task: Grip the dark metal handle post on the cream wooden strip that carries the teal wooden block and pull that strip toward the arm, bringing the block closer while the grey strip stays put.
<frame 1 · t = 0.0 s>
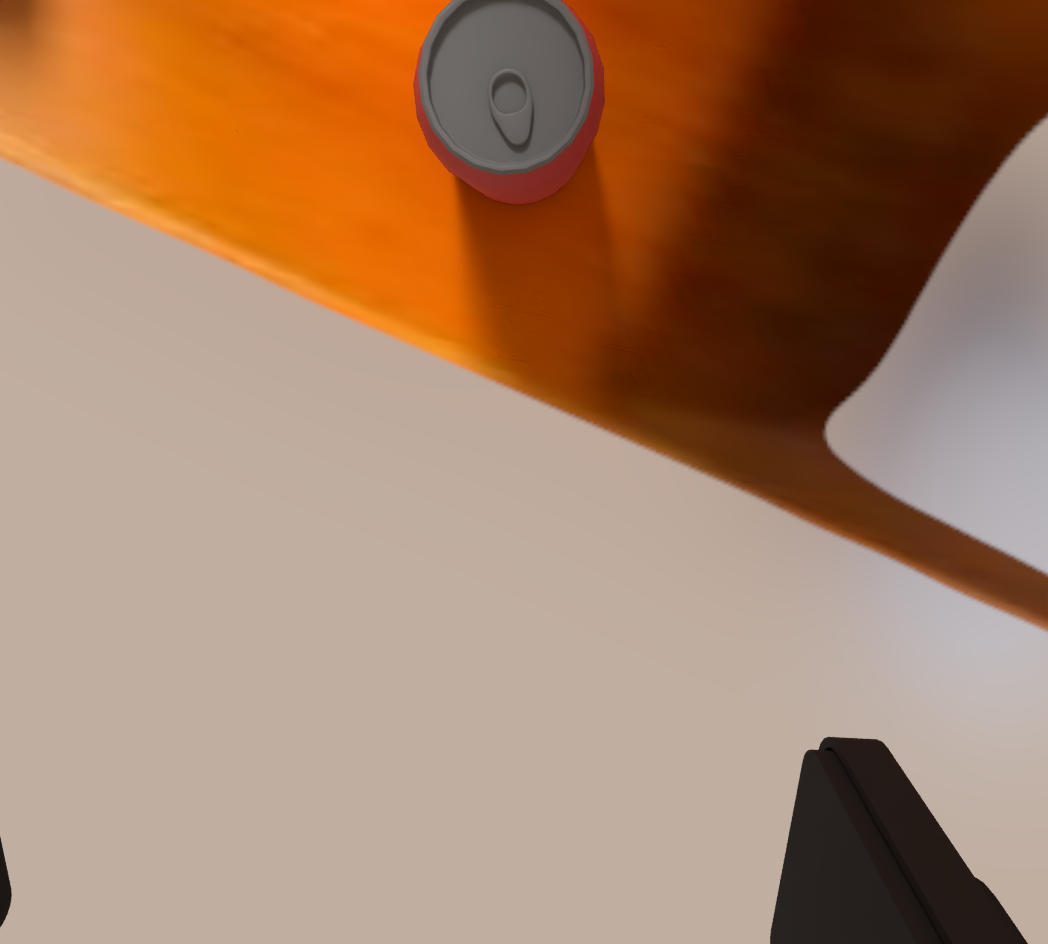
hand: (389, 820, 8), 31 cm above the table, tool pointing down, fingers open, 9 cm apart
beer can: (518, 131, 35), on the table
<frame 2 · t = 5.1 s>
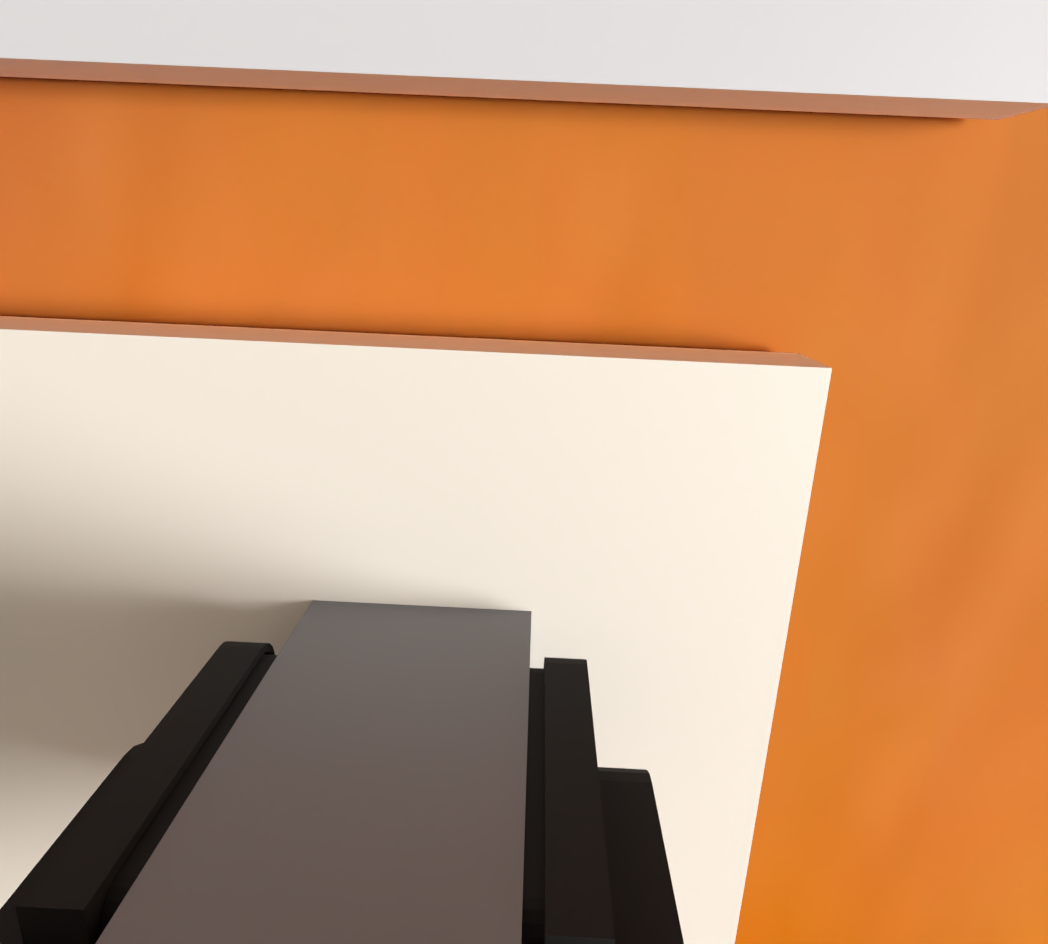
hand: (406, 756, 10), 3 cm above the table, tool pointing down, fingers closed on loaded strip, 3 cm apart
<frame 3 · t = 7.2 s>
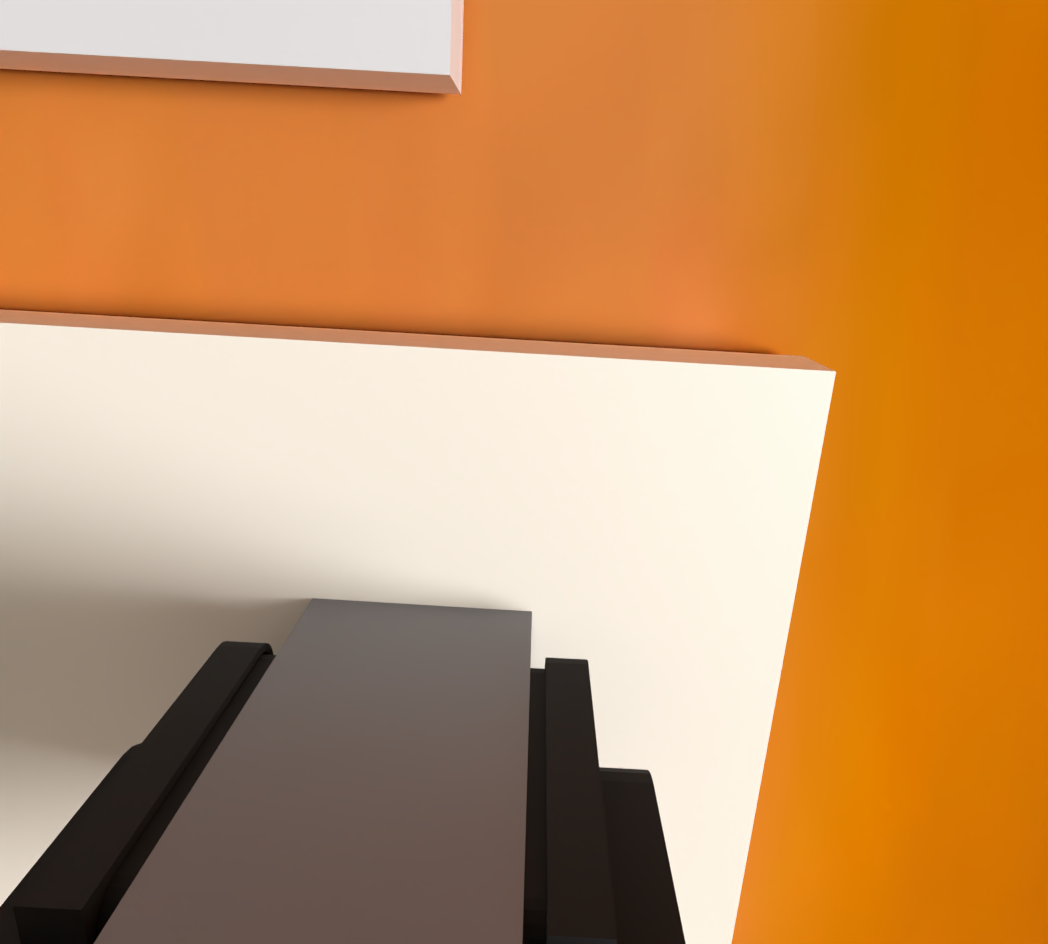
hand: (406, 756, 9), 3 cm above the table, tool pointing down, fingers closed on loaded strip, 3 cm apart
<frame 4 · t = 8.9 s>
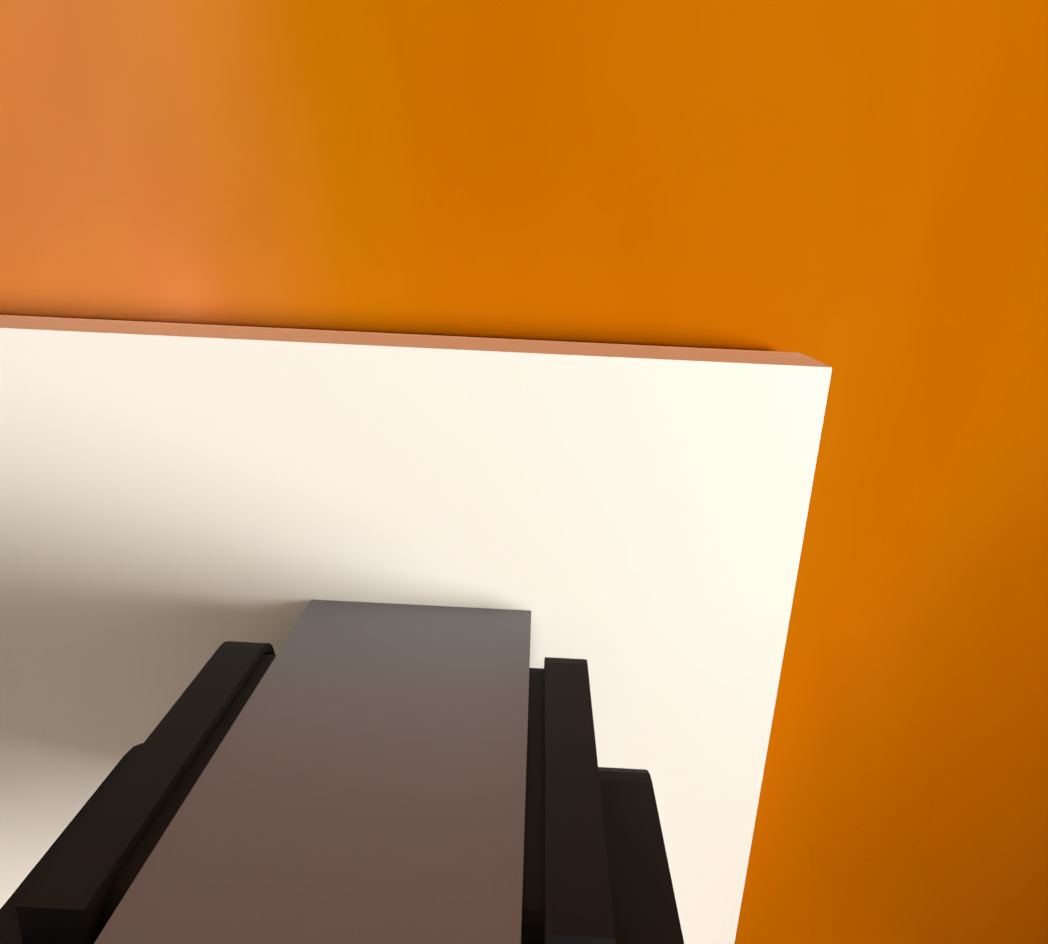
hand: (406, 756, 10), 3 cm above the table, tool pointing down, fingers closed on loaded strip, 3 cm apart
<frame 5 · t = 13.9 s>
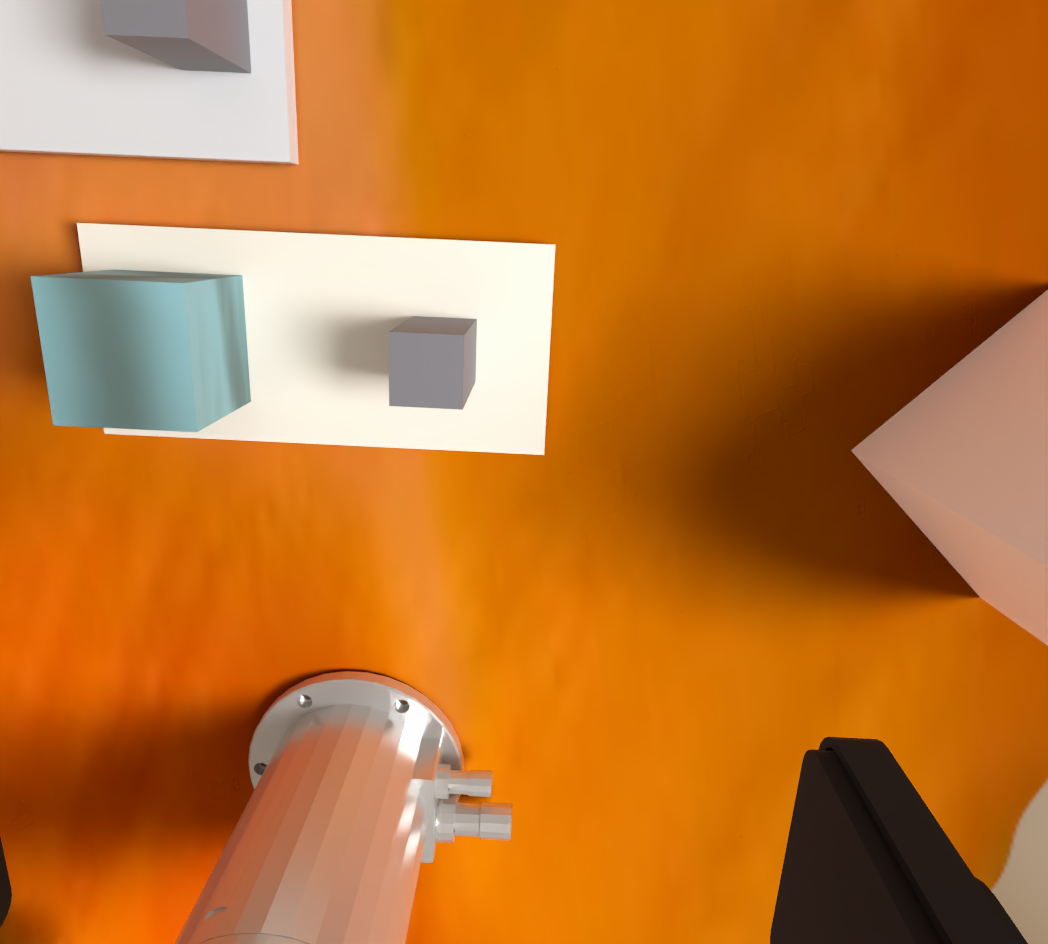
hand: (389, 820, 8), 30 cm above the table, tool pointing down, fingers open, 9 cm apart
empty strip: (37, 10, 30), point 4 cm above the table, slide at 0.0 cm
block: (184, 337, 36), point 1 cm above the table, touching loaded strip
milk: (1013, 449, 38), on the table
loaded strip: (304, 350, 33), point 4 cm above the table, slide at 14.0 cm, touching block
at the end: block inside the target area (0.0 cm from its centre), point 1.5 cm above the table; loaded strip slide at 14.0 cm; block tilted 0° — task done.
